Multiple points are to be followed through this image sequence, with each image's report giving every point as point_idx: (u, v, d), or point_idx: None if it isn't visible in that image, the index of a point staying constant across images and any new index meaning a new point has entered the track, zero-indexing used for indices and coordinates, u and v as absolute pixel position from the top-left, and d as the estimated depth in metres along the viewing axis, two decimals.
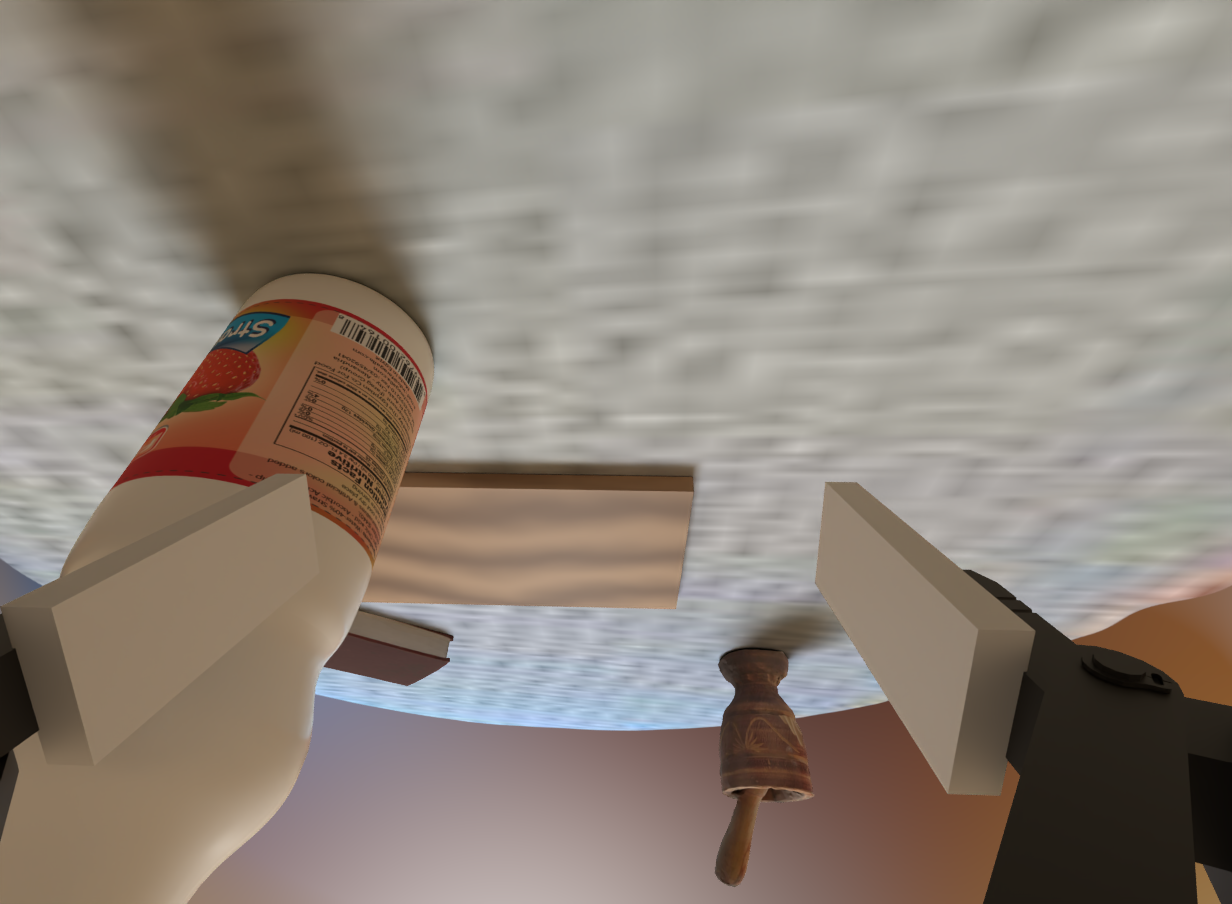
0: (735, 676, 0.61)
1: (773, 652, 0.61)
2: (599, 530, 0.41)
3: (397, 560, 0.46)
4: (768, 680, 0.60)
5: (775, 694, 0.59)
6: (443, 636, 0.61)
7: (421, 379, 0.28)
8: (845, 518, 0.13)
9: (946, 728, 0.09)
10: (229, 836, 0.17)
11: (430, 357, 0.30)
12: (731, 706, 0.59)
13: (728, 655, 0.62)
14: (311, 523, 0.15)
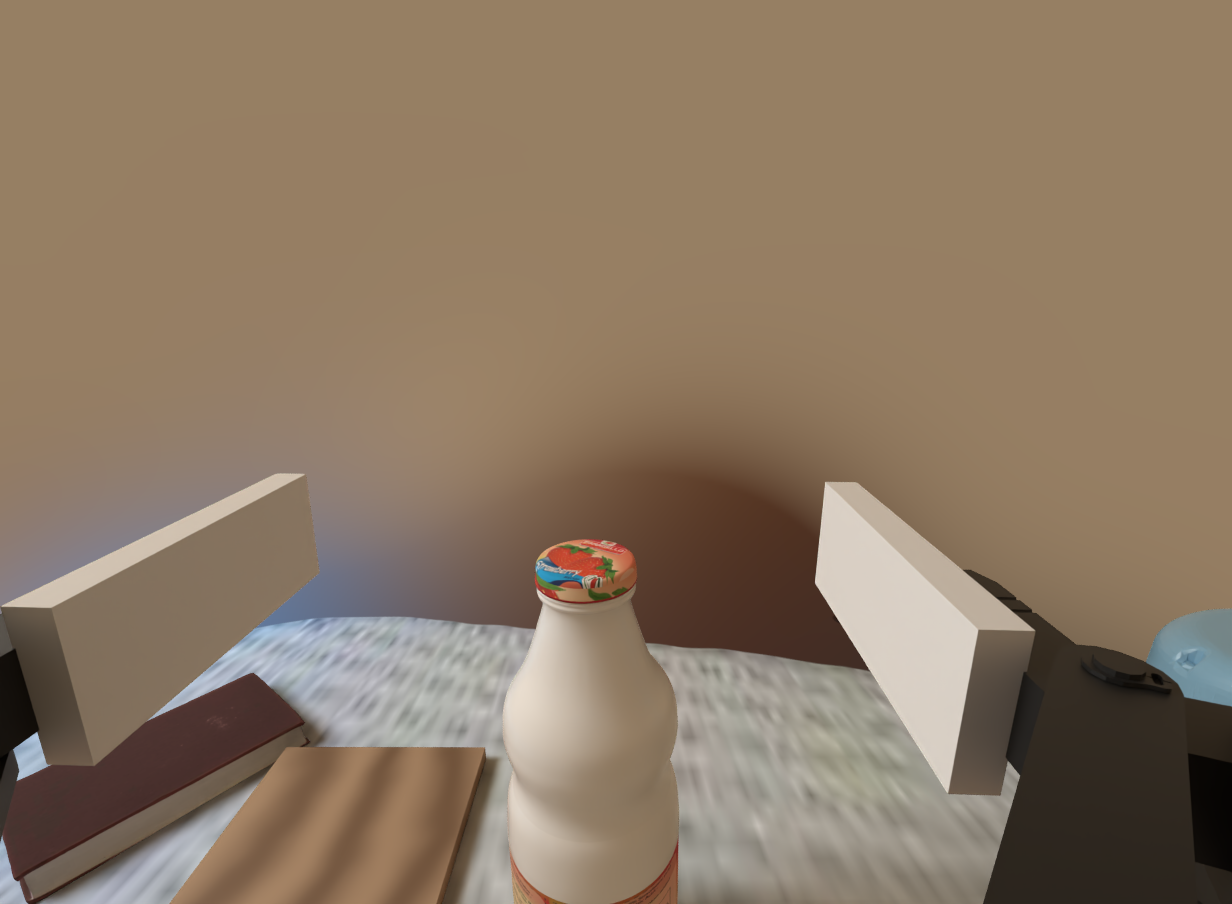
0: None
1: None
2: None
3: (289, 899, 0.39)
4: None
5: None
6: (49, 890, 0.41)
7: None
8: (844, 518, 0.13)
9: (946, 728, 0.09)
10: (582, 726, 0.26)
11: None
12: None
13: None
14: (310, 523, 0.15)
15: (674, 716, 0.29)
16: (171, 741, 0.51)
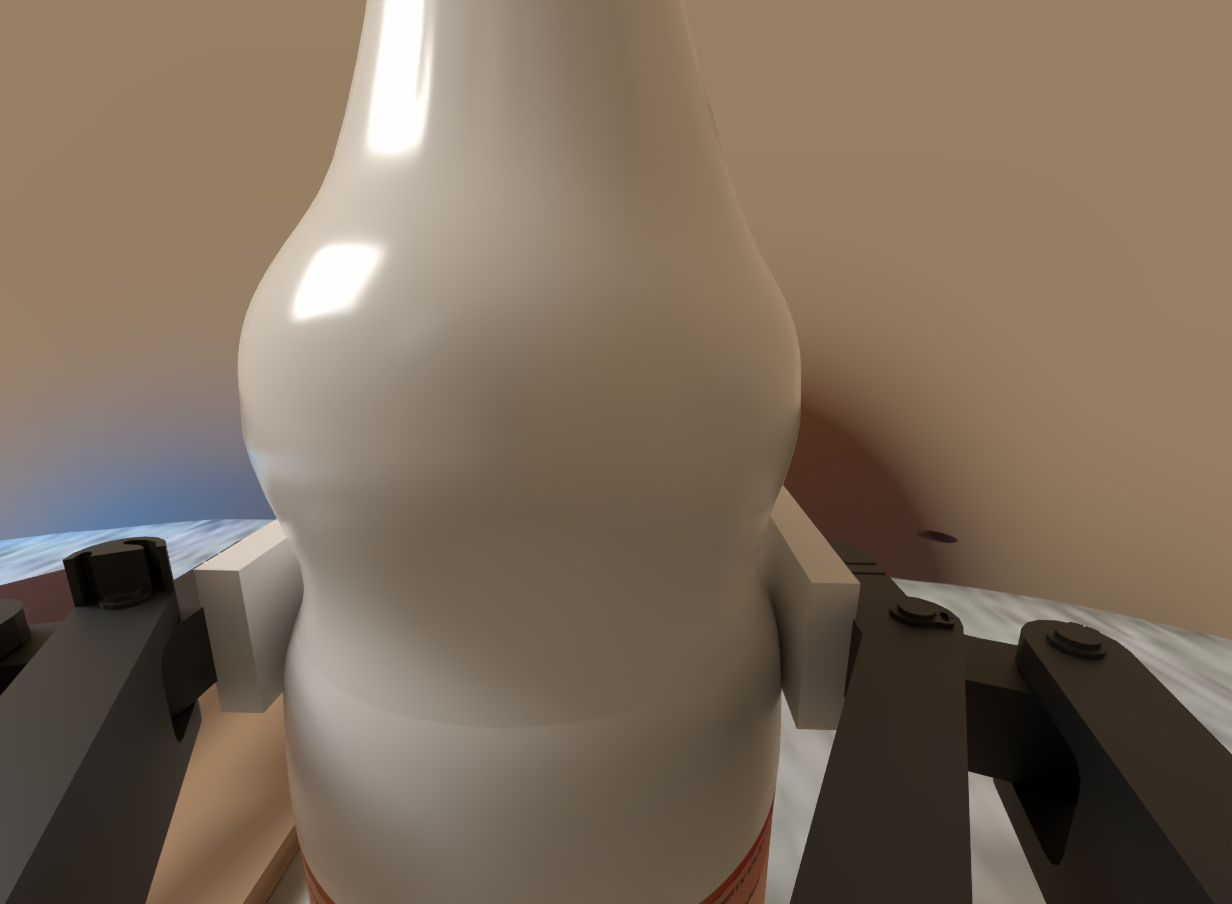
0: None
1: None
2: None
3: None
4: None
5: None
6: None
7: None
8: None
9: (796, 672, 0.10)
10: (470, 223, 0.06)
11: None
12: None
13: None
14: None
15: None
16: None
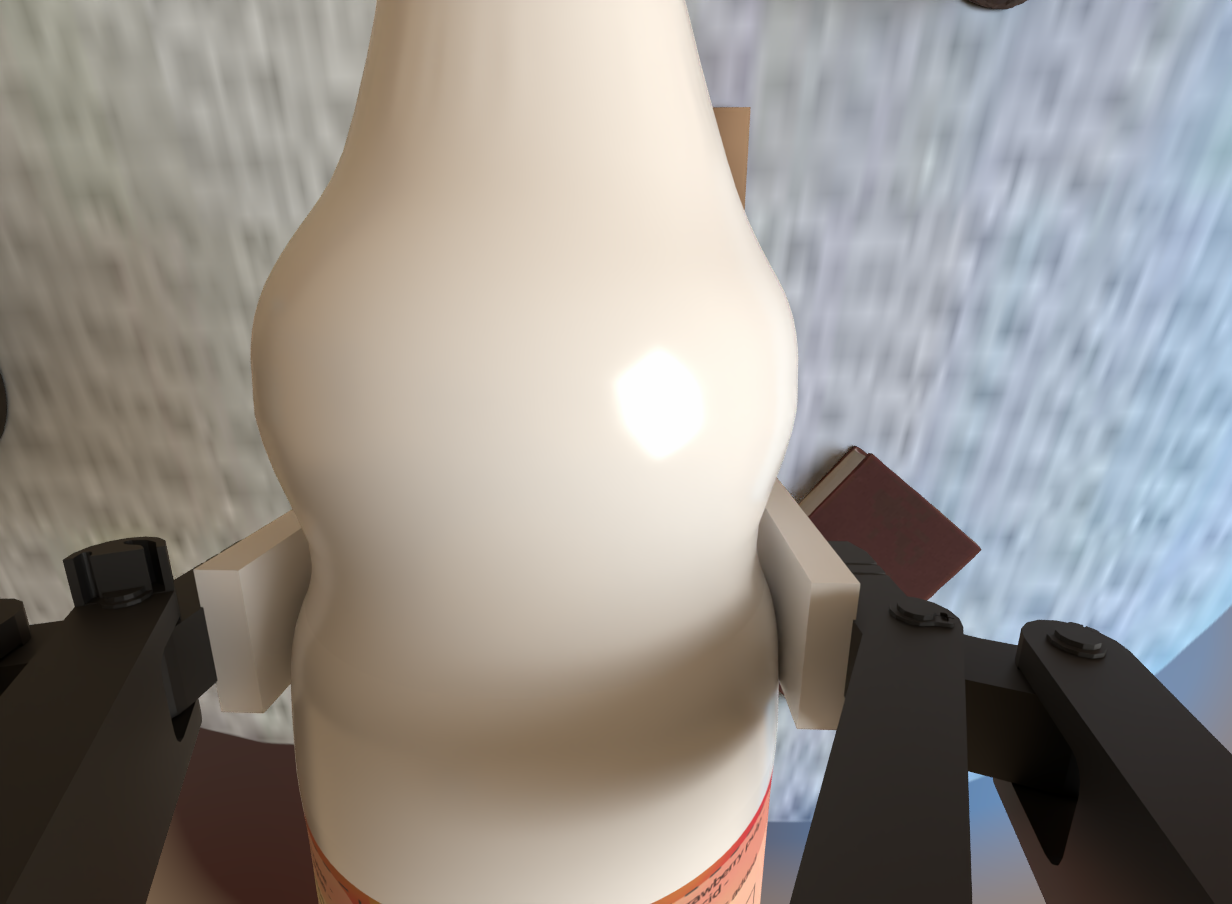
0: None
1: None
2: None
3: None
4: None
5: None
6: (846, 457, 0.45)
7: None
8: None
9: (796, 672, 0.10)
10: (478, 208, 0.07)
11: None
12: None
13: None
14: None
15: (796, 337, 0.09)
16: None
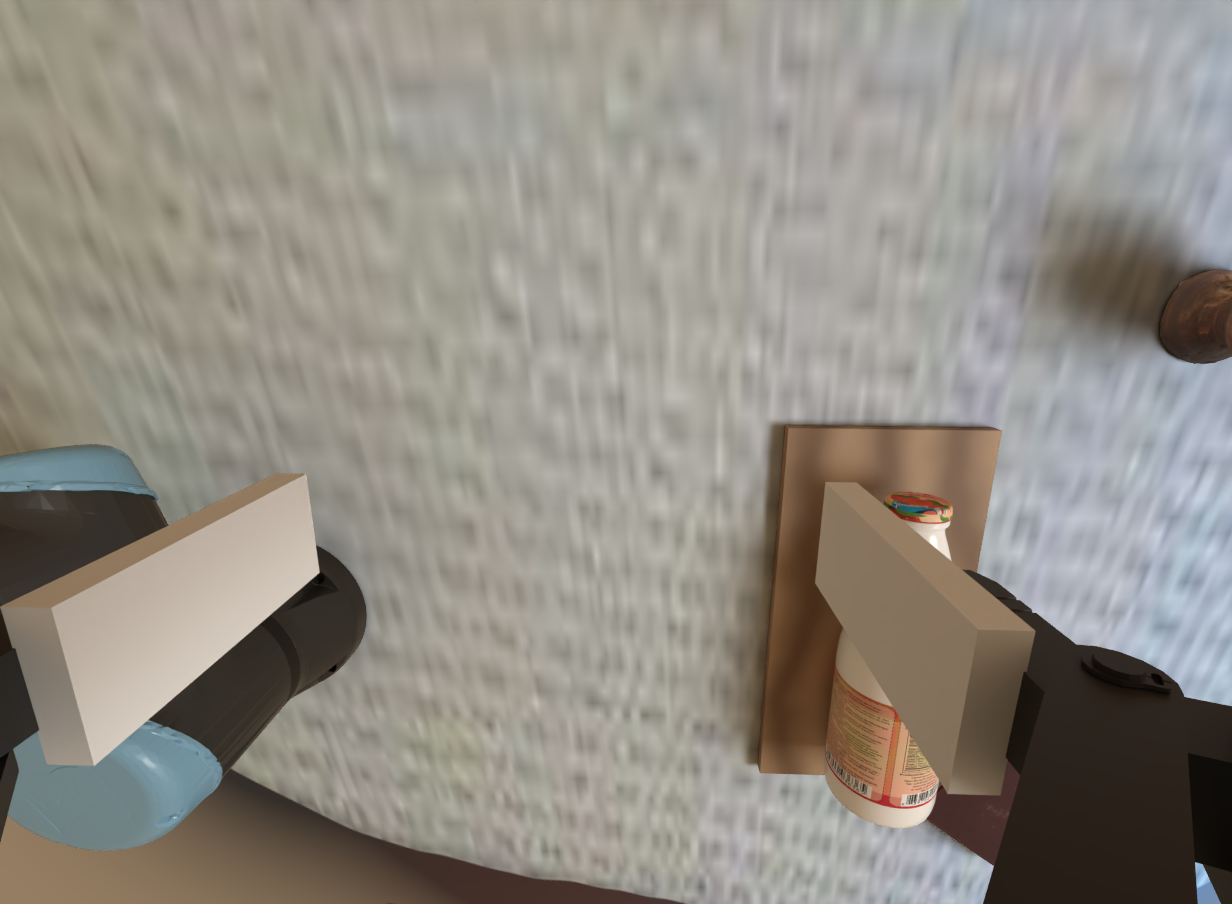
0: (1208, 347, 0.46)
1: (1172, 297, 0.47)
2: None
3: None
4: (1215, 305, 0.44)
5: None
6: None
7: (911, 806, 0.48)
8: (845, 518, 0.13)
9: (946, 728, 0.09)
10: None
11: (906, 823, 0.49)
12: None
13: (1173, 353, 0.48)
14: (311, 523, 0.15)
15: None
16: None
